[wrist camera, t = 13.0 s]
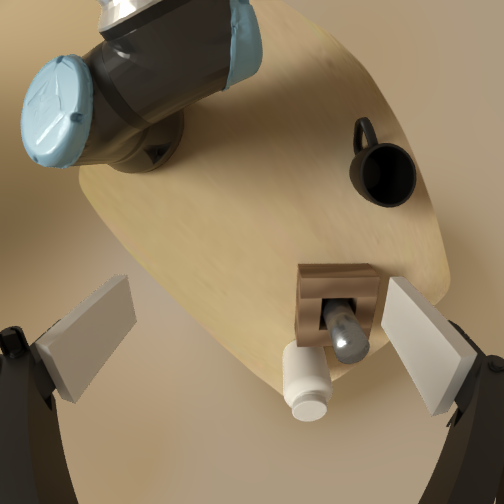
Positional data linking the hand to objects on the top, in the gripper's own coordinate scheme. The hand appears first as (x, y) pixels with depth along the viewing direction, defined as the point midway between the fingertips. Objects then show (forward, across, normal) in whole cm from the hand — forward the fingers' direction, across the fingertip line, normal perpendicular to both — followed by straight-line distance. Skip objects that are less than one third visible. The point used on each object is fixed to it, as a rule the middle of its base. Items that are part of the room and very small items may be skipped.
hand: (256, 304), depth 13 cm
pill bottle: (+31, +7, -27) cm, 42 cm away
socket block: (+31, +11, -15) cm, 36 cm away
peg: (+29, +11, -15) cm, 35 cm away
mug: (+31, +15, +8) cm, 35 cm away
